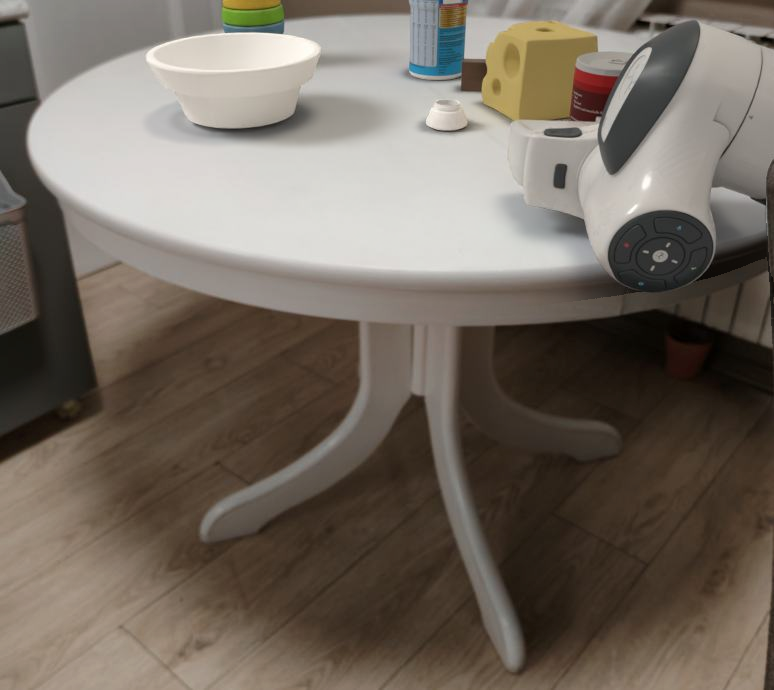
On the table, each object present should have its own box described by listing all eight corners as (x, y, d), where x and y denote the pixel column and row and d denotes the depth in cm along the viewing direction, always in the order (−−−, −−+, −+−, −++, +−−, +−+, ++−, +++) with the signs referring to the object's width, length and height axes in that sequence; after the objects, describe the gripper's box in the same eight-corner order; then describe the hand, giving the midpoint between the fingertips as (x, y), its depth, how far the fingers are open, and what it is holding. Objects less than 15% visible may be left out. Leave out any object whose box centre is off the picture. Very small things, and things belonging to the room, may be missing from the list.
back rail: (636, 92, 111) (640, 62, 109) (638, 96, 109) (643, 66, 107) (461, 87, 113) (462, 58, 111) (460, 91, 112) (462, 61, 109)
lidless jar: (474, 130, 97) (456, 118, 101) (475, 105, 95) (457, 94, 99) (436, 135, 96) (419, 123, 99) (436, 110, 94) (420, 99, 98)
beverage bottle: (402, 80, 117) (403, -75, 106) (414, 66, 124) (416, -81, 113) (459, 83, 115) (466, -74, 104) (469, 69, 122) (476, -80, 111)
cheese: (480, 104, 106) (484, 24, 101) (551, 95, 109) (559, 17, 104) (517, 126, 98) (525, 40, 93) (593, 117, 101) (605, 33, 96)
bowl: (346, 100, 108) (344, 36, 104) (288, 151, 91) (283, 77, 86) (203, 90, 113) (195, 28, 108) (123, 136, 96) (110, 65, 91)
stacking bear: (267, 74, 120) (256, -59, 110) (212, 67, 124) (196, -62, 114) (304, 59, 128) (297, -66, 118) (251, 53, 132) (240, -69, 122)
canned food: (634, 155, 89) (651, 52, 83) (638, 181, 82) (657, 71, 77) (564, 151, 90) (576, 49, 85) (562, 176, 84) (575, 67, 78)
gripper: (764, 142, 66) (724, 95, 77) (512, 133, 68) (510, 89, 79) (746, 213, 69) (710, 159, 81) (506, 204, 71) (505, 152, 83)
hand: (609, 124), depth 80 cm, fingers closed, pressing on canned food
